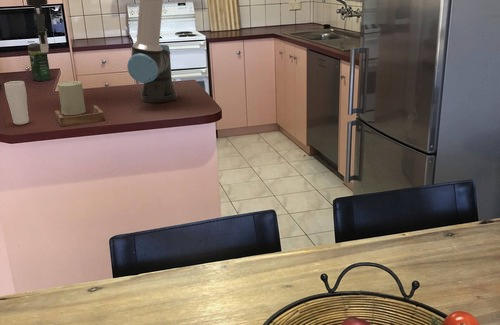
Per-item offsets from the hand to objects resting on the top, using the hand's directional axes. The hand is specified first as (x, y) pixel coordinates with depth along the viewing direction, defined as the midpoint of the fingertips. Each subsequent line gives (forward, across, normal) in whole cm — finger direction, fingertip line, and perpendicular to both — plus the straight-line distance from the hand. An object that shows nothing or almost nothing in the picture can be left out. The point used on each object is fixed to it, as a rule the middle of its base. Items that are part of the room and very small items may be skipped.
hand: (45, 50), depth 208 cm
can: (+23, +15, +7) cm, 28 cm away
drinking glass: (+23, +24, -12) cm, 35 cm away
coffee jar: (+22, -60, -6) cm, 64 cm away
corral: (+23, +26, +9) cm, 36 cm away
